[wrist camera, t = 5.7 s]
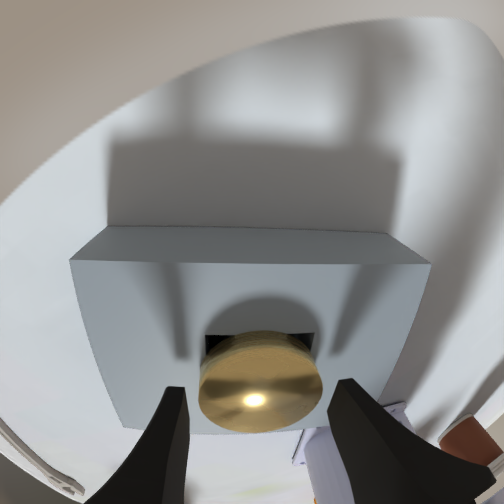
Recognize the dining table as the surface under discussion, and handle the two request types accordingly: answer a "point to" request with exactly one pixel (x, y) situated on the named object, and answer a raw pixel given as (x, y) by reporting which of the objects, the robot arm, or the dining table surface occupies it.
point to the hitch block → (241, 306)
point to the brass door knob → (258, 382)
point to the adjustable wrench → (40, 463)
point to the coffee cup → (472, 444)
